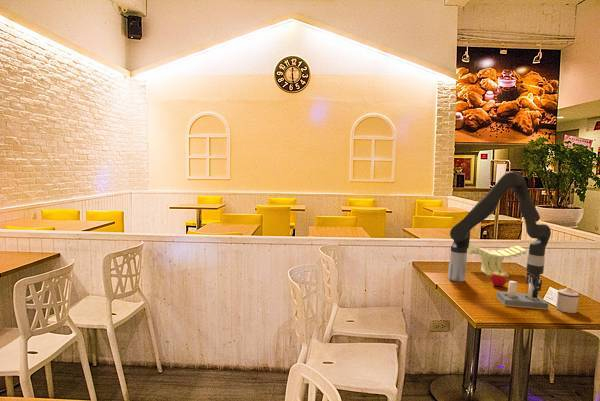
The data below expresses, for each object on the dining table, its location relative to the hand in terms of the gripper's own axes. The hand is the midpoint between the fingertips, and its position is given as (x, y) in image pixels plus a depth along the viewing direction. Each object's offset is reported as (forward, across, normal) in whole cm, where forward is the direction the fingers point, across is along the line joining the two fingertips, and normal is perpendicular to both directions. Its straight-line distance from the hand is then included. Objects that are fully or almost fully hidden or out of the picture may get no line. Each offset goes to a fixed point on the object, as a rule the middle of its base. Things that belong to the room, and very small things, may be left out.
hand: (532, 295), depth 213 cm
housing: (+4, 0, -5) cm, 7 cm away
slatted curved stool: (+5, -58, -2) cm, 58 cm away
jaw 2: (+4, 0, 0) cm, 4 cm away
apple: (+5, -28, -8) cm, 29 cm away
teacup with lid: (+5, +4, +14) cm, 15 cm away
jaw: (+4, 0, -10) cm, 11 cm away
